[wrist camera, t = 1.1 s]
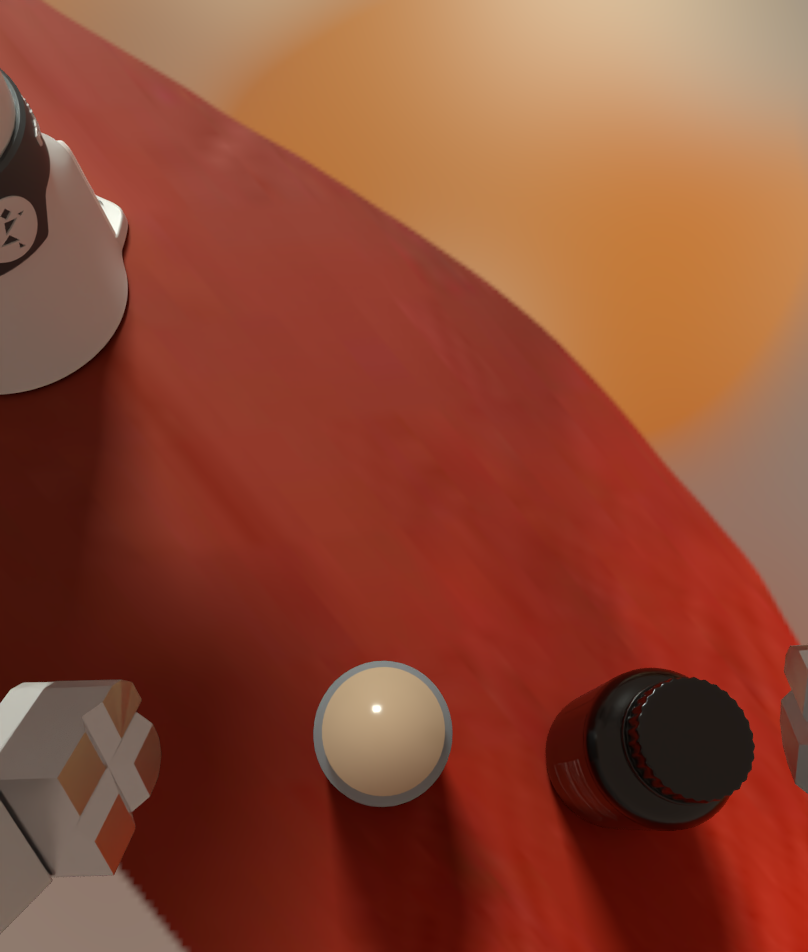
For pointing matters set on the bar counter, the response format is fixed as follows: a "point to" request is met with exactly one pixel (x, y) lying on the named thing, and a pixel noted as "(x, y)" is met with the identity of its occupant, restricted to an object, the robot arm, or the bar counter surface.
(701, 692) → the supplement bottle
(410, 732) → the sugar jar
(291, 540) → the bar counter surface
